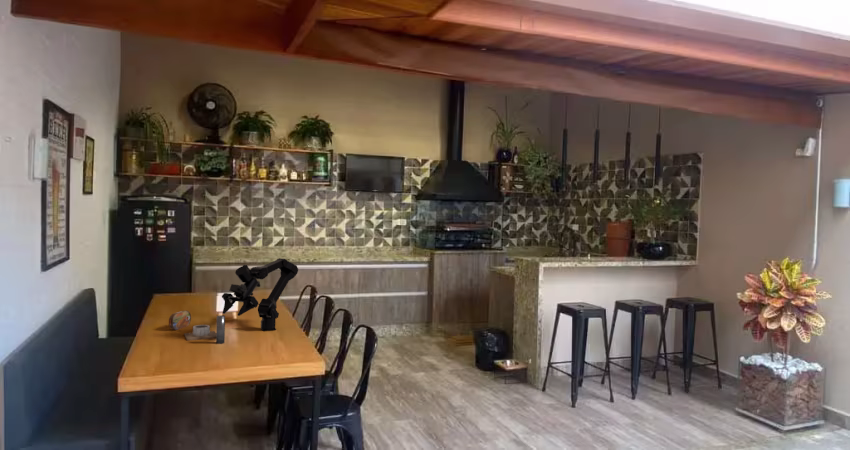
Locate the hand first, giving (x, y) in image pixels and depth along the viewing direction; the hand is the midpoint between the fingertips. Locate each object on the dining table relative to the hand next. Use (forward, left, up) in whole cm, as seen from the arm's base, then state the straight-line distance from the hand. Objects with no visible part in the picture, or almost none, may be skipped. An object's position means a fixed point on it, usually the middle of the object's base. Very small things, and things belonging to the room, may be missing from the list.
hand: (230, 314), depth 262 cm
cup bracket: (+11, -12, -12) cm, 21 cm away
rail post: (+5, +4, -12) cm, 14 cm away
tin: (+18, -35, -12) cm, 42 cm away
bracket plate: (+11, -12, -12) cm, 21 cm away
